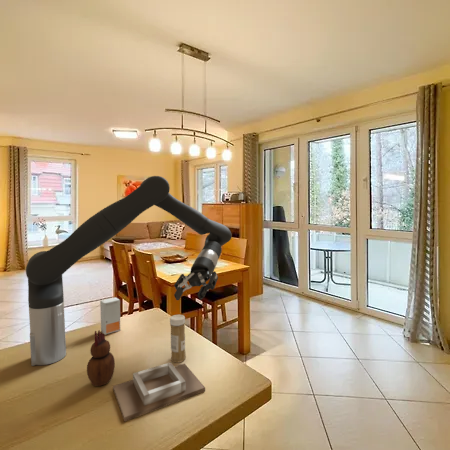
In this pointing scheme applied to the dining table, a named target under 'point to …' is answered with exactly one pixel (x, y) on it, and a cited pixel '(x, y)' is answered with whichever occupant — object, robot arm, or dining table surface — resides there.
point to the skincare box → (110, 315)
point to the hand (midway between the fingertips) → (187, 298)
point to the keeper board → (156, 389)
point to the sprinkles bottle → (177, 338)
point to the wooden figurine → (100, 361)
